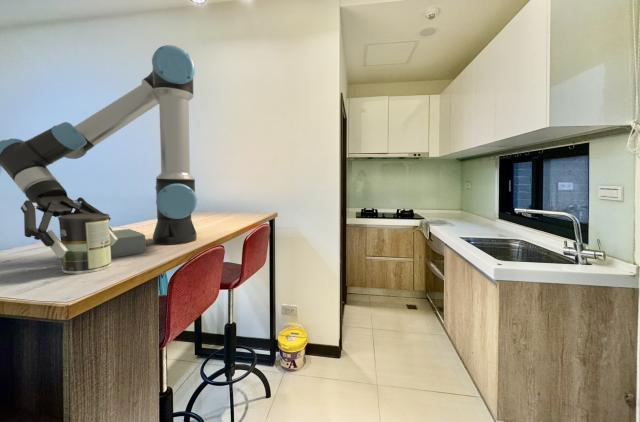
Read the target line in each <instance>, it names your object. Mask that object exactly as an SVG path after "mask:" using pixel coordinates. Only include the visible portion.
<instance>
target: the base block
mask: <svg viewBox="0 0 640 422" xmlns="http://www.w3.org/2000/svg"><path fill="white" fill-rule="evenodd" d="M112 233H113V234H114V235H115V236H116V237H117V239H118V240H117V241H116V242H115V243H114V245H112V246H110V250H111V259H113V258H119V257H125V256H131V255H136V254H143V253H146V252H147V249H146V248H147V247H146V234H144V233H142V232H139V231H136V230H134V229H130V228H127V229H126V228H125V229H118V230H117V229H116V230H112Z"/></svg>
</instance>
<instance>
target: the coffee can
mask: <svg viewBox="0 0 640 422" xmlns="http://www.w3.org/2000/svg"><path fill="white" fill-rule="evenodd" d="M109 217H110V214H108V213H104V212H102V213H84V214H71V215H64V216H59V217H57V219H58V220H57V221H58V224H59V236H60V237H59V239H60V241H61V242H62V244H63V245H64V246H65V247H66V248H67V250H68V251H67V252H66V253H65V255H64V256H63V257H62V259H61V261H62V273H64V274H68V275H79V274H80V275H82V274H89V273H91V274H92V273H95V272H100V271H103V270H106V269H108V268H111V267H112V264H113V263H112V258H111V250H110V232H109V227H110V221H109Z"/></svg>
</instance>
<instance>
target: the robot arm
mask: <svg viewBox="0 0 640 422" xmlns="http://www.w3.org/2000/svg"><path fill="white" fill-rule="evenodd" d="M151 64H152V71H151V72H150V73H149V75H147V76H145V77H144V78H143V79H141V84H140V85H138V86H136V87H134V89H132V90H130V91H129V92H127V93H126V94H124V95H122V96H120V97H119V98H117V99H116V100H114V101H113V102H112V103H110V104H107V106H105V107H103V108H102V109H100V110H98V111H96V112H95V113H93V114H92V115H90V116H89V117H87V118H85V119H84V120H82V121H80V122H79V123H77V124H76V125H75V126H74V125H72V123H70V122H68V121H65V122H62V123H60V124H59V123H58V124H57V125H53V126H52V127H51V128H49V129H47V130H44V131H43V132H40V133H39V134H37V135H35V136H33V137H32V138H29V139H27V140H22V139H19V138H9V139H2V140H0V167H1V168H2V169H3V170H4V171H5V172H6V173H7V175H8V176H9V177H10V178H11V179H12V180H13V182H14V183H15V184H16V186H17V187H18V188H19V190H20V191H21V192H22V193H23V194H24V195H25V197H26V198H27V200H25V201H24V202H23V203H22V205H21V207H20V210H21V212H22V213H23V218H24V219H23V220H24V221H23V222H24V223H23V224H24V225H23V226H24V227H23V229H24V237H27V238H32V237H33V238H34V240H36V241H39V240H40V241H41V242H42V244H43V245H44V246H46V247H49V248H50V249H51V250H52V251H53V253H54V254H55V255H56V256H57V257H58V259H61V258H62V257H63V256H64V255H65V253H66V252H67V251H68V250H67V248H66V247H65V246H64V245H63V244H62V242H61V239H60V238H59V237H58V235H56V234H55V232H54V231H53V230H48V227H49V225H50V223H51V220H52V217H54V218H58V217H60V216H64V215H71V214H84V213H103V212H102V211H101V210H99V209H97V208H96V207H94V206H92V205H91V204H90V203H88V202H87V201H86V200H85V199H84V198H83V197H77V199H72V198H70V197H69V196H68V193H67V191H66V189H65V188H64V187H63V186H62V184H61V182H59V181H58V180H57V178H56V177H55V176H54V175H53V173H51V171H50V169H48V168H47V167H48V166H50V165H52V164H54V163H56V162H57V161H59V160H61V159H63V158H66V159H70V160H71V159H72V160H77V159H80V158H82V157H83V156H85V155H86V154H87V152H88V151H90V150H91V149H93V148H95V146H97V145H98V144H100V143H102V142H103V141H105V140H106V139H107V138H109V137H110V136H113V134H115V133H117V132H118V131H120V130H121V129H123V128H124V127H126V126H128V125H129V124H130V123H132V122H133V121H135V120H136V119H137V118H139V117H141V116H142V115H144V114H145V113H147V112H148V111H150V110H152V109H153V108H155V107H156V106H159V107H158V108H159V133H160V134H159V138H160V140H159V141H160V142H159V143H160V173H159V174H158V175H157V176H156V177H155V178H156V180H155V181H156V182H155V187H154V189H155V193H156V198H155V203H156V220H157V221H156V225H155V228H154V231H153V234H152V242H153V244H158V245H177V244H185V243H191V242H193V241H196V240H197V239H198V238H197V237H198V236H197V235H198V234H197V231H196V228H195V225H194V223H193V221H192V214H193V212H194V211H195V209H196V207H197V204H198V197H197V195H196V180H195V178H194V177H193V175H191V173H190V172H191V171H190V168H191V167H190V166H191V165H190V163H191V162H190V161H191V160H190V159H191V158H190V110H189V109H190V107H189V106H190V104H189V103H190V101H191V100H192V99H193V98H194V77H195V74H196V66H195V63H194V61H193V58H192V57H191V55H190V54H189V53H188V52H187V51H185V50H184V49H182V48H181V47H179V46H176V45H172V44H171V45H170V44H166V45H162V46H159V47H158V48H157V49H156V50H155V51H154V53H153V54H152V57H151ZM36 210H37V211H40V212H42V213H43V214H42V217H41V220H40V223H39V225H38V228H37V217H36V216H37V215H36ZM73 210H74V211H73ZM72 211H73V212H72ZM111 219H112V218H111V217H110V216H109V222H110V221H111ZM112 231H113V229H112V228H111V227H110V226H109V232H110V246H112V245H114V243H115V242H116V241H117V240H118V239H117V237H116V236H115V235H114V234H113V233H112Z"/></svg>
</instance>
